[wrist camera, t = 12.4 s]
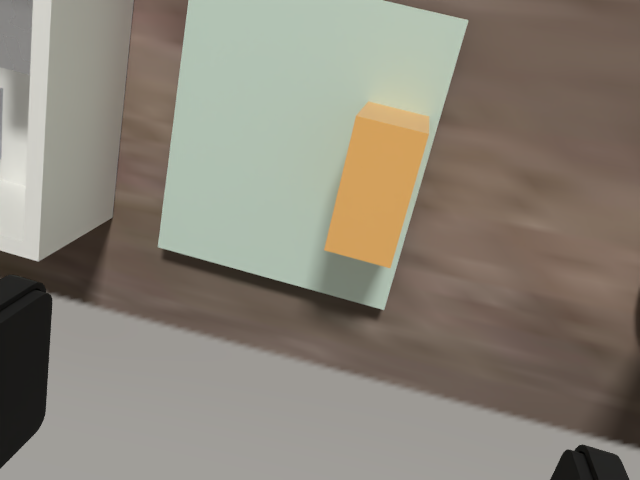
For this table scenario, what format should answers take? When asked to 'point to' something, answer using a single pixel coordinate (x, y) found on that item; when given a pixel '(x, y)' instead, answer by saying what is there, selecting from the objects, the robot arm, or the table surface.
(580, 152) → the table surface
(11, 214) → the tub
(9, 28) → the part
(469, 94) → the table surface
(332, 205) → the lid
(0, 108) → the part
